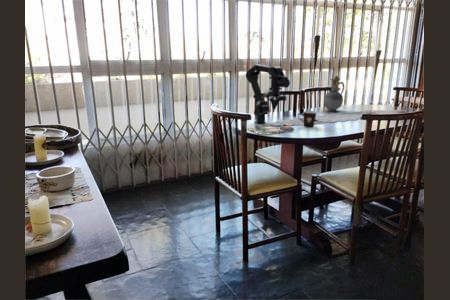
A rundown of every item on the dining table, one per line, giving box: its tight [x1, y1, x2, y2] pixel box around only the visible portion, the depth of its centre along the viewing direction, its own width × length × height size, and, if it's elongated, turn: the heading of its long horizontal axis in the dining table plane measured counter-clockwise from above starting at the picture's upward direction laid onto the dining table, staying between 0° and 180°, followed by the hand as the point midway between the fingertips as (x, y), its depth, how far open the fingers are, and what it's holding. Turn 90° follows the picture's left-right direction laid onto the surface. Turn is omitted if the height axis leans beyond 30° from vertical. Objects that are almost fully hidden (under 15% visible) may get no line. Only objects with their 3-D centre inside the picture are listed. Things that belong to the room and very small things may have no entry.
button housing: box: [279, 126, 295, 132], centre depth 213 cm, size 6×6×2 cm
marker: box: [254, 124, 266, 132], centre depth 209 cm, size 9×2×2 cm, turn 26°
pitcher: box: [323, 75, 345, 113], centre depth 276 cm, size 11×19×30 cm, turn 119°
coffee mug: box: [297, 110, 317, 128], centre depth 224 cm, size 12×9×10 cm
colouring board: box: [247, 125, 285, 134], centre depth 211 cm, size 16×18×1 cm
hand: (274, 109), depth 220 cm, fingers closed
